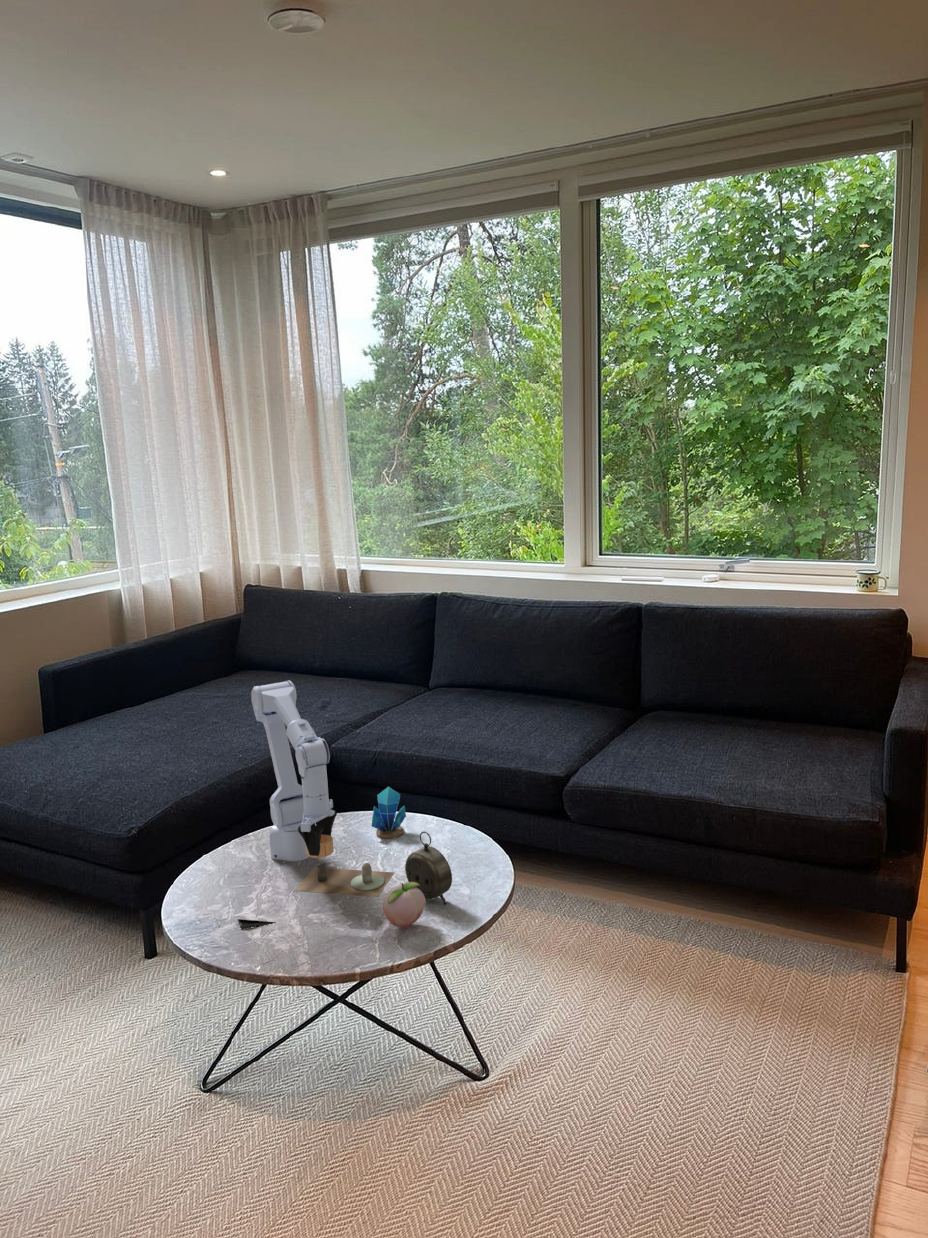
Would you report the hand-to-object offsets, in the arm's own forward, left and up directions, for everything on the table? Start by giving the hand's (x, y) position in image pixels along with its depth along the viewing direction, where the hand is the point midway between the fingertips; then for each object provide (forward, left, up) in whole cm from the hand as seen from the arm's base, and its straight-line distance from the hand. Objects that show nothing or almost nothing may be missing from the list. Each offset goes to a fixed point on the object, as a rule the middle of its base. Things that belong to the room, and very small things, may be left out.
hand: (319, 849), depth 218 cm
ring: (0, 0, -1) cm, 1 cm away
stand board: (+6, 0, -9) cm, 10 cm away
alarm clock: (+27, -4, -9) cm, 28 cm away
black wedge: (-10, -14, -9) cm, 20 cm away
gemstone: (+7, +30, -9) cm, 32 cm away
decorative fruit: (+25, -16, -9) cm, 31 cm away
